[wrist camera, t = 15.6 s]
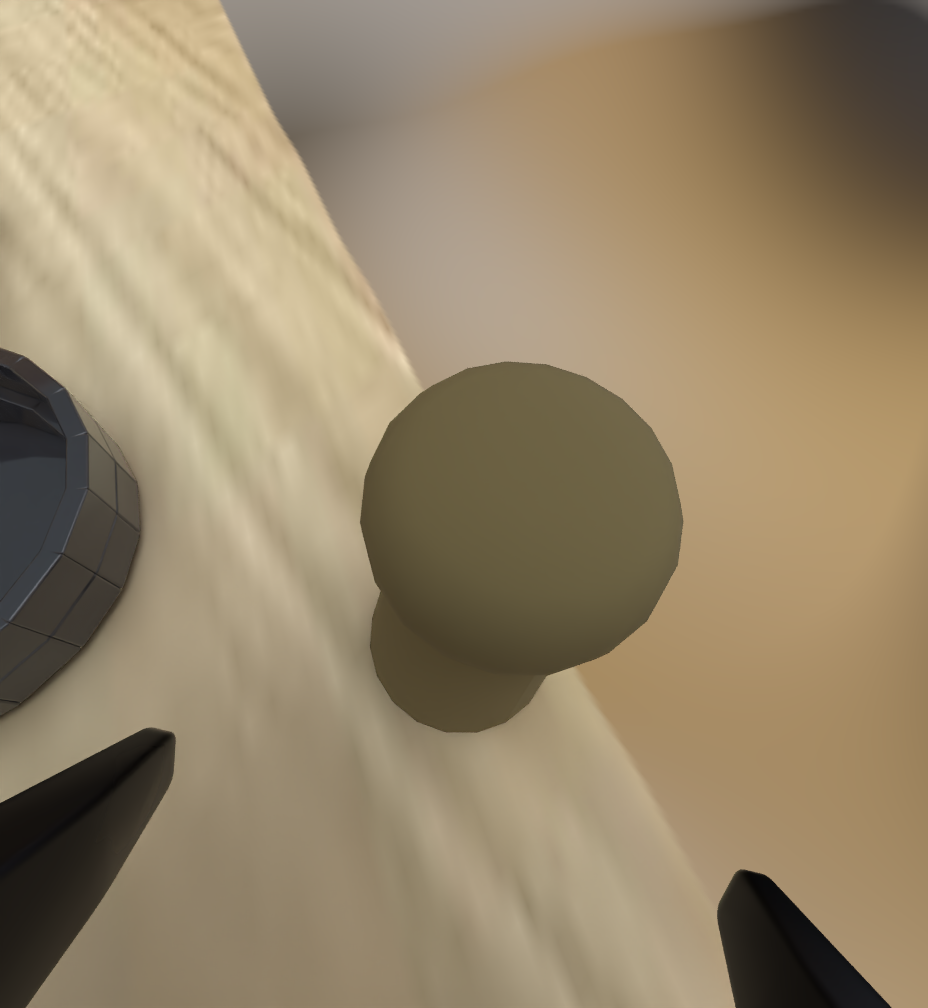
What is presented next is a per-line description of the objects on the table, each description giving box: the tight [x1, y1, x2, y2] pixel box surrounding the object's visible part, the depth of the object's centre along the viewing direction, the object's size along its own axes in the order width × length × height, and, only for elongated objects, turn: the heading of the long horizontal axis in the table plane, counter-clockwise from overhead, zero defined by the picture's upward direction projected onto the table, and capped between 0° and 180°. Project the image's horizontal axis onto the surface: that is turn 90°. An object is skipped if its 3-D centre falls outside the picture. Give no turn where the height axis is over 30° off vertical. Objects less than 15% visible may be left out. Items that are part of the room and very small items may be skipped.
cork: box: [360, 362, 683, 732], centre depth 12 cm, size 6×6×11 cm
